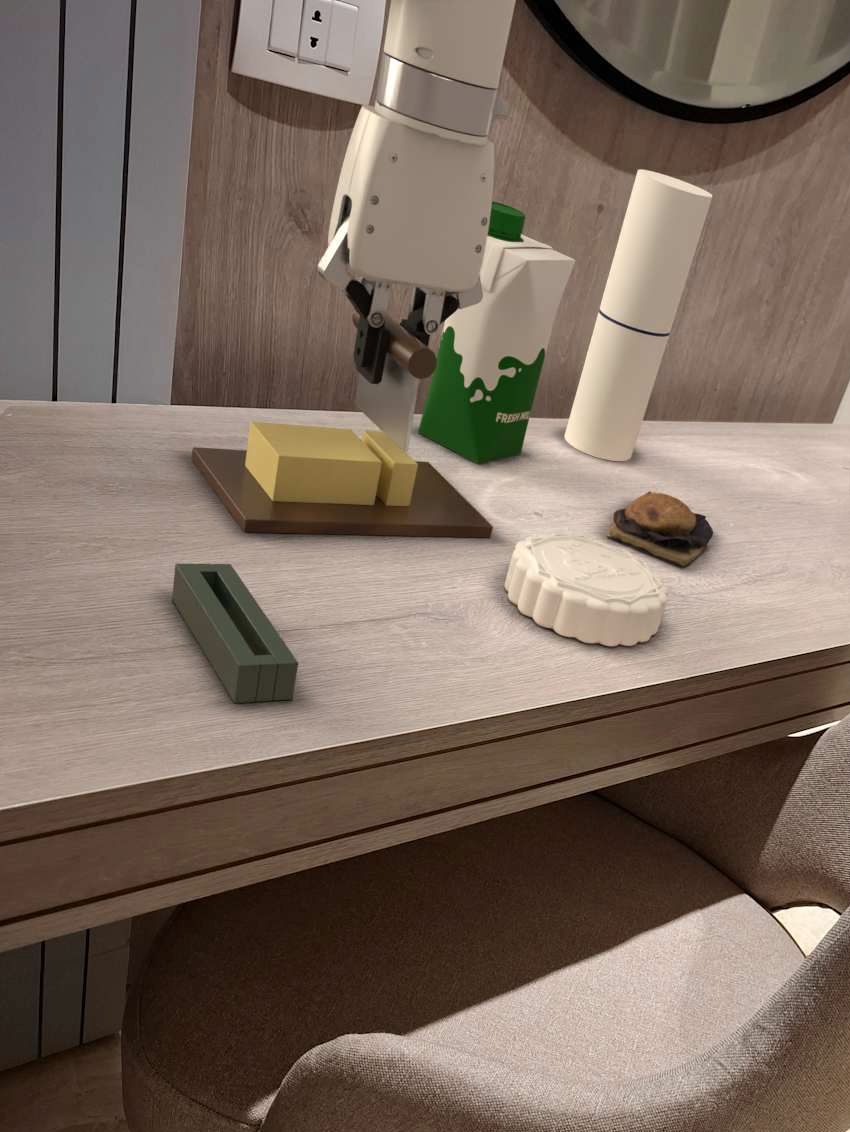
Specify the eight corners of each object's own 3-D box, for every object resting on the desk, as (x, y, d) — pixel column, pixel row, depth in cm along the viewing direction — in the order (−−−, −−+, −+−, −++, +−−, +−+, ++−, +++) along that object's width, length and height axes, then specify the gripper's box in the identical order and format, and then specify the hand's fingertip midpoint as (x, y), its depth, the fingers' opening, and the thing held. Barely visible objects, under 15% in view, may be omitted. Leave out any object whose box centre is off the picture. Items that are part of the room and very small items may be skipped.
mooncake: (590, 563, 96) (603, 523, 94) (688, 639, 90) (703, 597, 88) (472, 573, 88) (483, 529, 86) (570, 656, 82) (584, 611, 80)
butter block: (272, 501, 86) (278, 455, 84) (244, 465, 89) (250, 421, 87) (374, 505, 90) (382, 462, 88) (343, 471, 94) (350, 428, 92)
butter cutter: (394, 453, 86) (411, 346, 82) (341, 402, 92) (353, 300, 88) (422, 454, 87) (439, 349, 83) (367, 403, 93) (381, 303, 89)
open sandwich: (687, 573, 101) (701, 534, 99) (597, 535, 102) (610, 495, 100) (717, 538, 110) (730, 501, 107) (634, 503, 110) (646, 466, 108)
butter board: (244, 532, 83) (245, 519, 82) (191, 459, 90) (192, 446, 89) (490, 537, 94) (493, 526, 94) (426, 472, 102) (428, 461, 101)
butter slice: (386, 505, 91) (394, 462, 89) (355, 472, 95) (362, 429, 93) (409, 506, 92) (418, 464, 90) (378, 473, 96) (386, 431, 94)
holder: (234, 703, 66) (239, 665, 64) (171, 599, 73) (175, 562, 71) (293, 700, 68) (299, 662, 66) (226, 598, 75) (230, 563, 73)
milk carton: (460, 419, 115) (509, 200, 104) (534, 457, 113) (593, 237, 102) (403, 429, 108) (449, 196, 97) (481, 470, 106) (537, 235, 95)
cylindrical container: (555, 441, 118) (628, 170, 105) (576, 426, 124) (649, 168, 111) (620, 467, 118) (703, 198, 104) (639, 450, 124) (719, 194, 110)
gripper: (512, 115, 85) (458, 370, 95) (297, 59, 75) (263, 348, 85) (564, 143, 80) (501, 408, 90) (343, 87, 71) (301, 389, 81)
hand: (386, 377), depth 88 cm, fingers closed on butter cutter, 2 cm apart
